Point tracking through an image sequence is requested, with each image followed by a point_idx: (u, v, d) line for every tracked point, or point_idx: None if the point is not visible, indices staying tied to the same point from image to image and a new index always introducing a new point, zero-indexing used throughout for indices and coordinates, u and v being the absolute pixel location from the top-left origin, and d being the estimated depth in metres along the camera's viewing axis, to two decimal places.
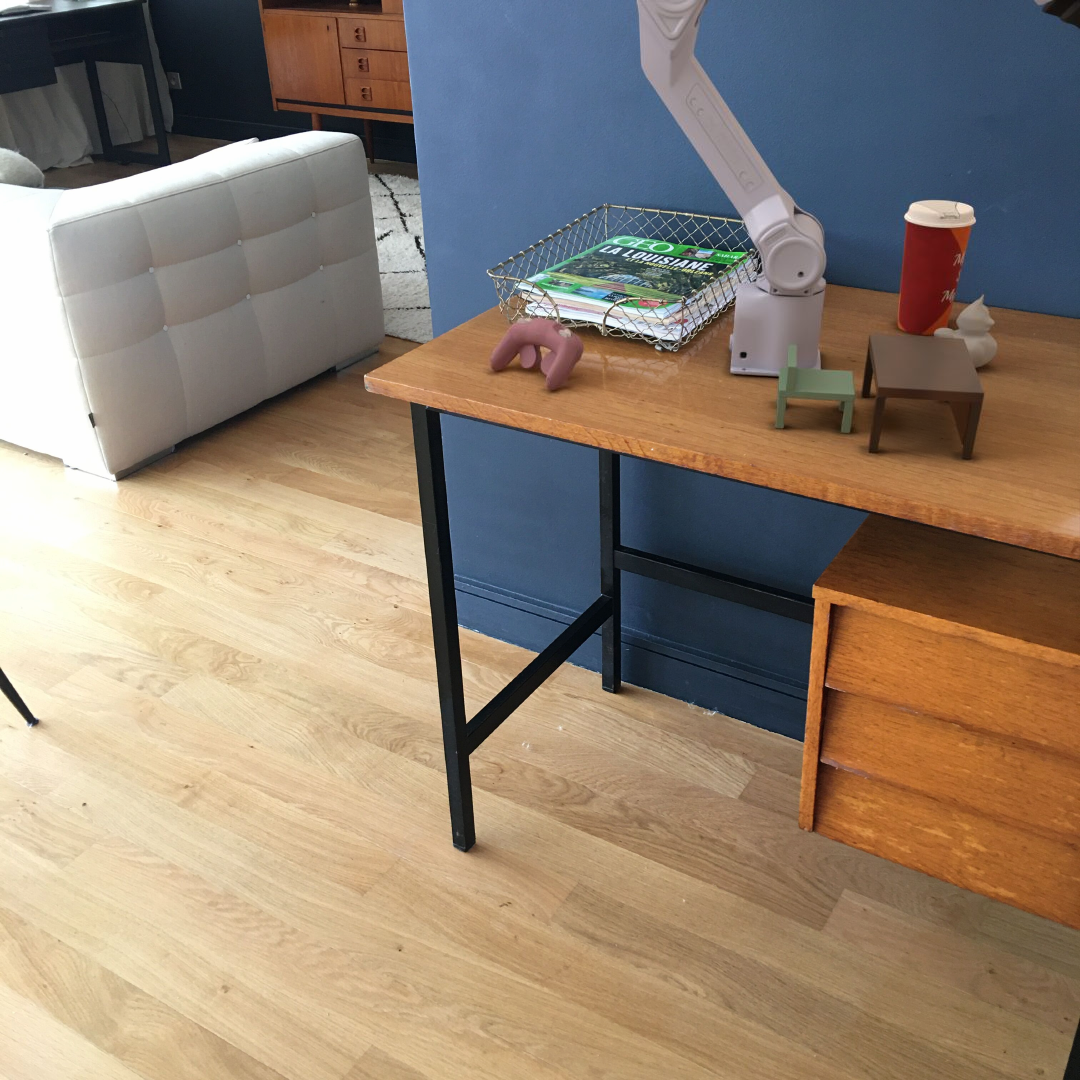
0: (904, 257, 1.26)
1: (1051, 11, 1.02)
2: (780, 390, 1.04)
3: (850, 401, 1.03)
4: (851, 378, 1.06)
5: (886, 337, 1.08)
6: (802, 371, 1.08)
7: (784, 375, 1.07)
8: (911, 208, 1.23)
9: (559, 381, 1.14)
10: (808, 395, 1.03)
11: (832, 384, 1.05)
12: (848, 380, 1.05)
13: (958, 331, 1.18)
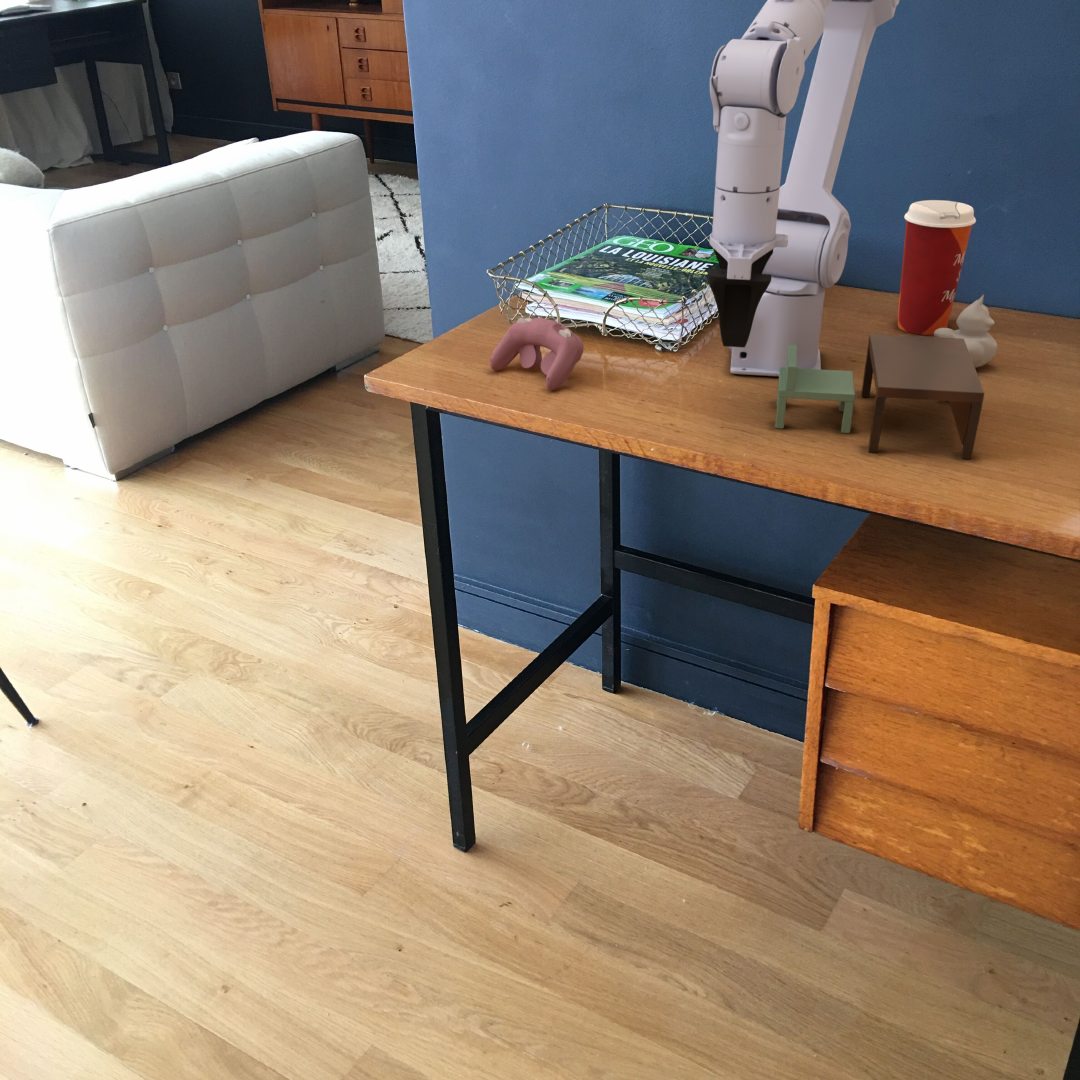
0: (904, 257, 1.26)
1: (717, 253, 1.05)
2: (780, 390, 1.04)
3: (850, 401, 1.03)
4: (851, 378, 1.06)
5: (886, 337, 1.08)
6: (802, 371, 1.08)
7: (784, 375, 1.07)
8: (911, 208, 1.23)
9: (559, 381, 1.14)
10: (808, 395, 1.03)
11: (832, 384, 1.05)
12: (848, 380, 1.05)
13: (958, 331, 1.18)
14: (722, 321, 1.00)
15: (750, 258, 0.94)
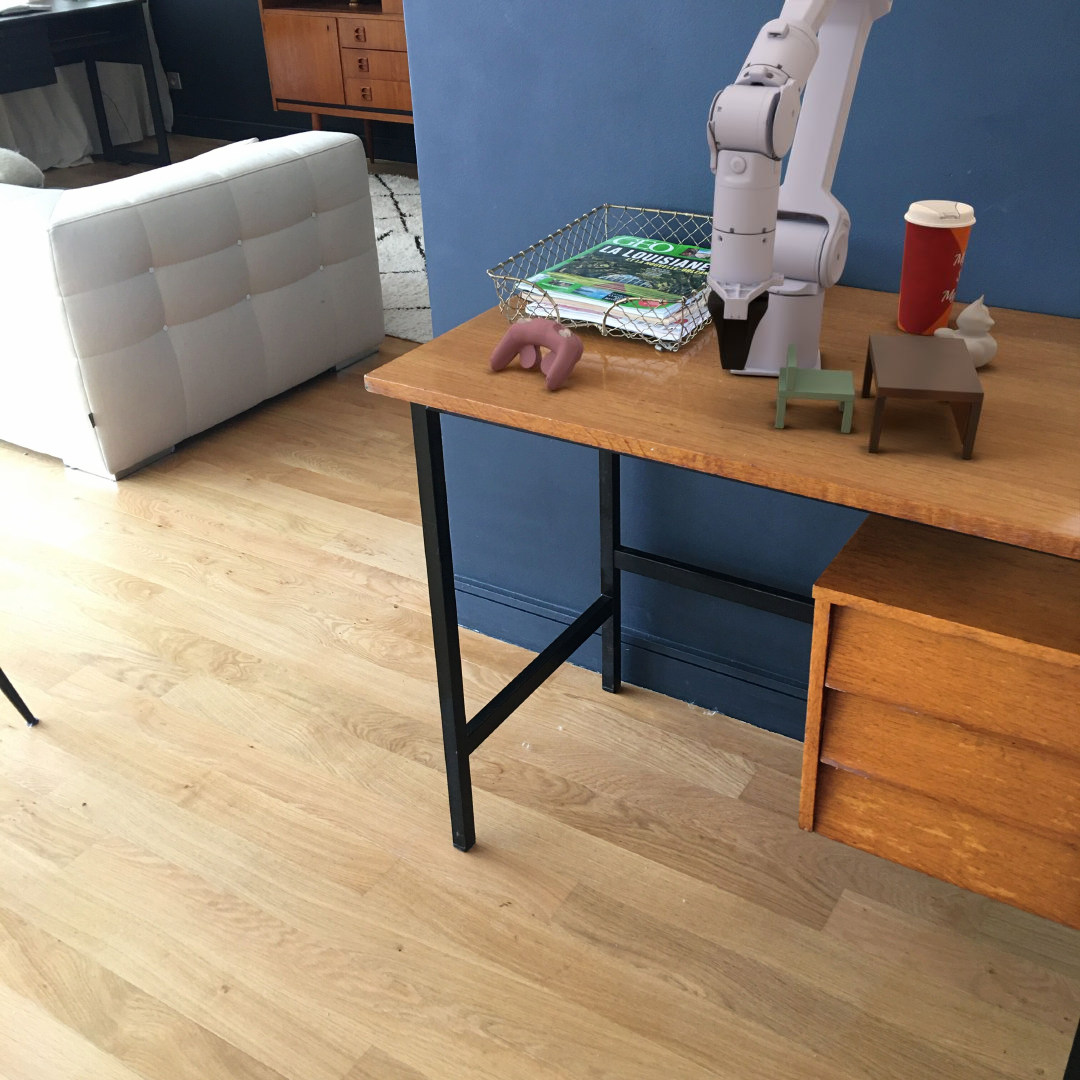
0: (904, 257, 1.26)
1: None
2: (780, 390, 1.04)
3: (850, 401, 1.03)
4: (851, 378, 1.06)
5: (886, 337, 1.08)
6: (802, 371, 1.08)
7: (784, 375, 1.07)
8: (911, 208, 1.23)
9: (559, 381, 1.14)
10: (808, 395, 1.03)
11: (832, 384, 1.05)
12: (848, 380, 1.05)
13: (958, 331, 1.18)
14: (722, 346, 1.05)
15: (746, 299, 0.96)
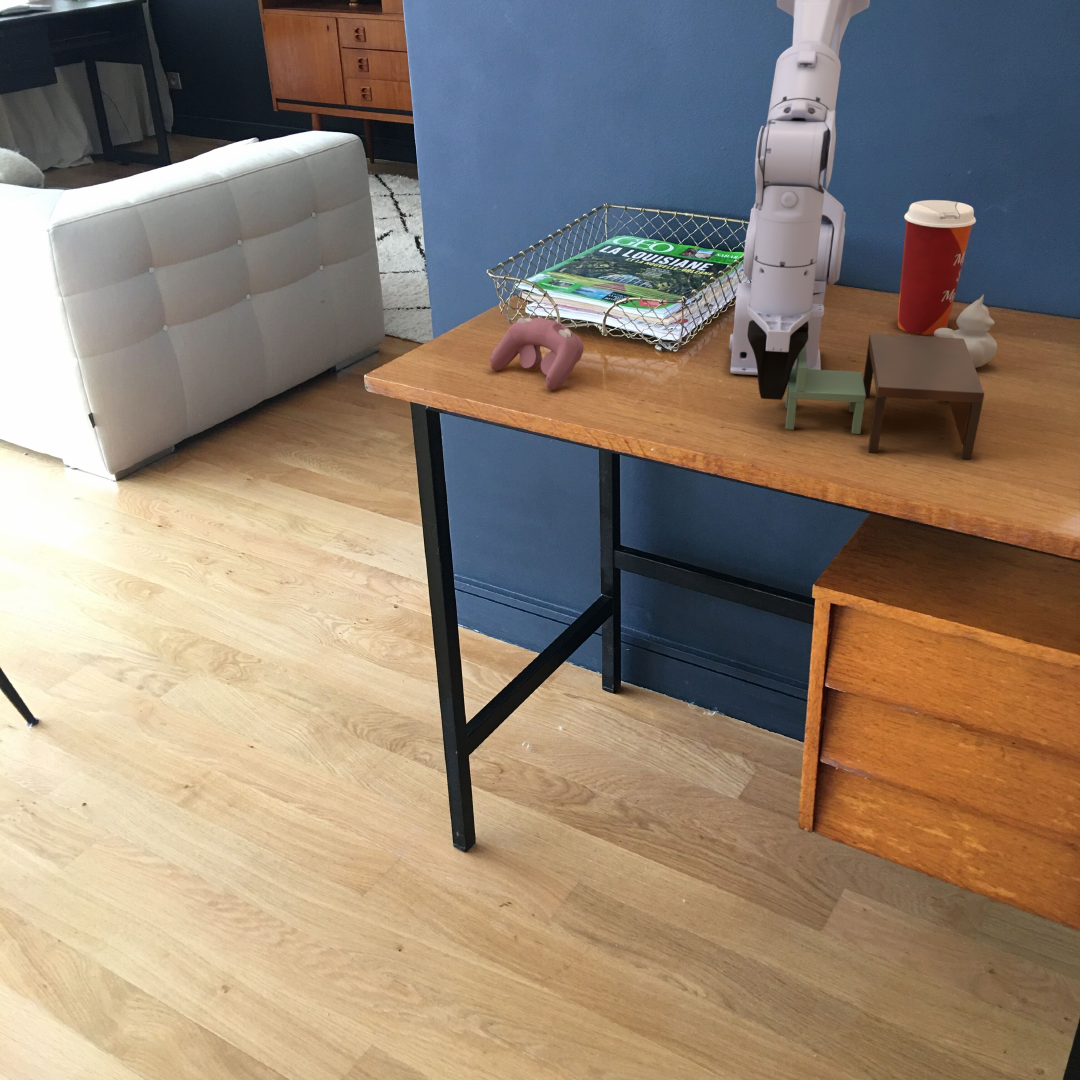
0: (904, 257, 1.26)
1: None
2: (790, 391, 1.04)
3: (860, 402, 1.03)
4: (861, 379, 1.06)
5: (886, 337, 1.08)
6: (812, 371, 1.08)
7: (794, 376, 1.07)
8: (911, 208, 1.23)
9: (559, 381, 1.14)
10: (819, 396, 1.03)
11: (842, 385, 1.04)
12: (858, 381, 1.05)
13: (958, 331, 1.18)
14: (761, 376, 1.05)
15: (789, 331, 0.97)
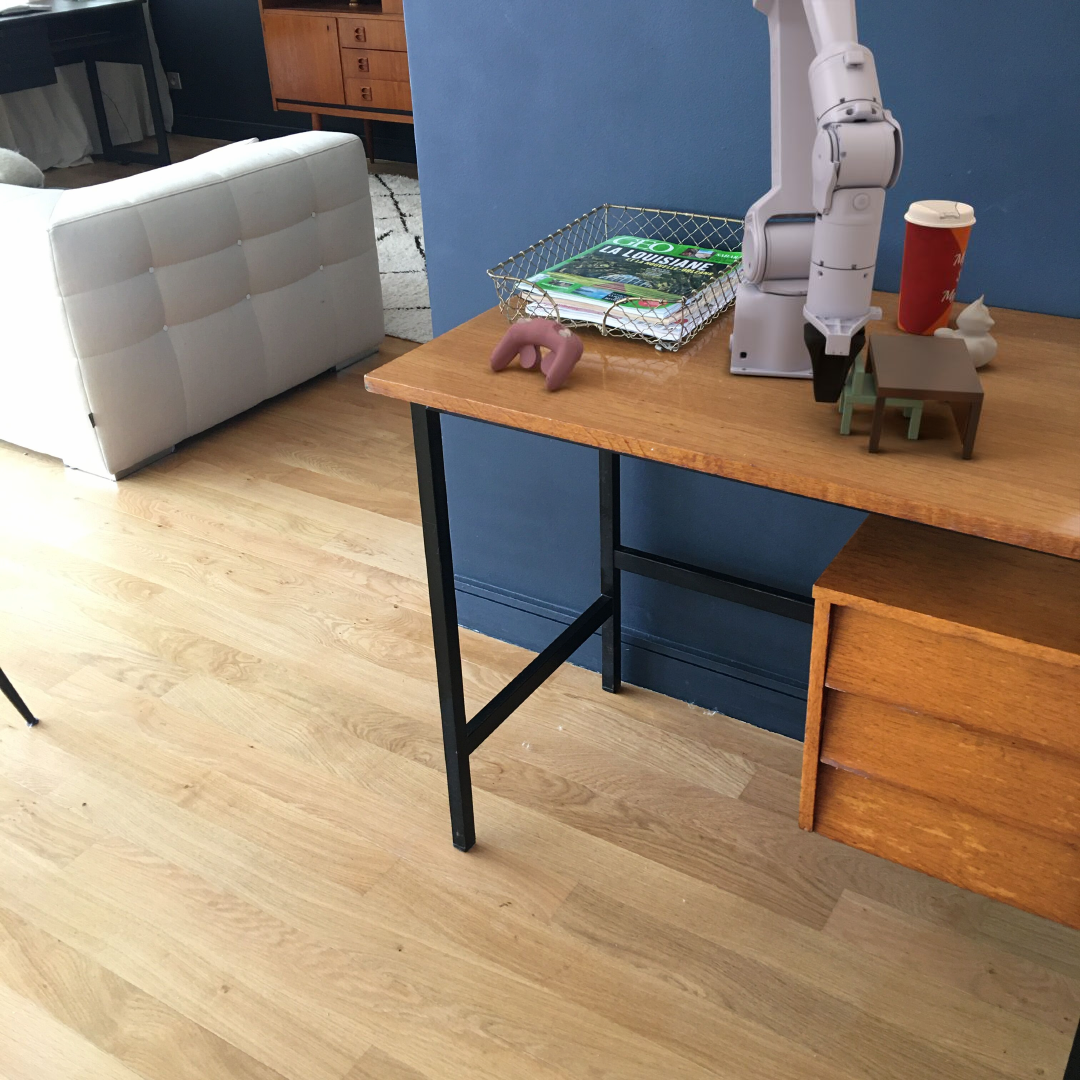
0: (904, 257, 1.26)
1: None
2: (847, 395, 1.02)
3: (918, 407, 1.02)
4: None
5: (886, 337, 1.08)
6: (867, 376, 1.06)
7: (849, 380, 1.05)
8: (911, 208, 1.23)
9: (559, 381, 1.14)
10: None
11: None
12: None
13: (958, 331, 1.18)
14: (816, 379, 1.05)
15: (849, 335, 0.96)
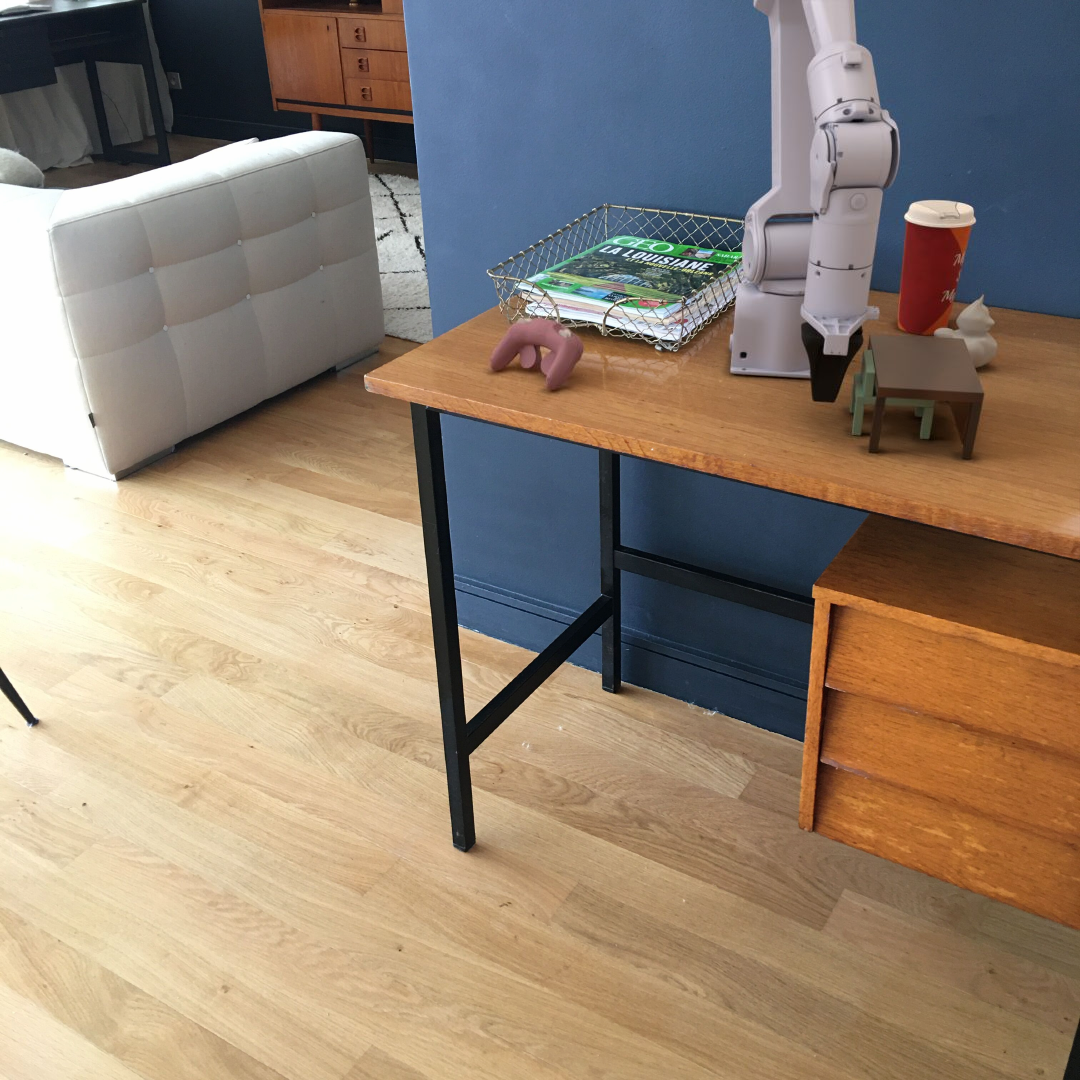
0: (904, 257, 1.26)
1: None
2: (858, 396, 1.02)
3: (930, 407, 1.01)
4: None
5: (886, 337, 1.08)
6: None
7: (860, 381, 1.05)
8: (911, 208, 1.23)
9: (559, 381, 1.14)
10: (887, 401, 1.02)
11: None
12: None
13: (958, 331, 1.18)
14: (814, 378, 1.05)
15: (848, 335, 0.96)
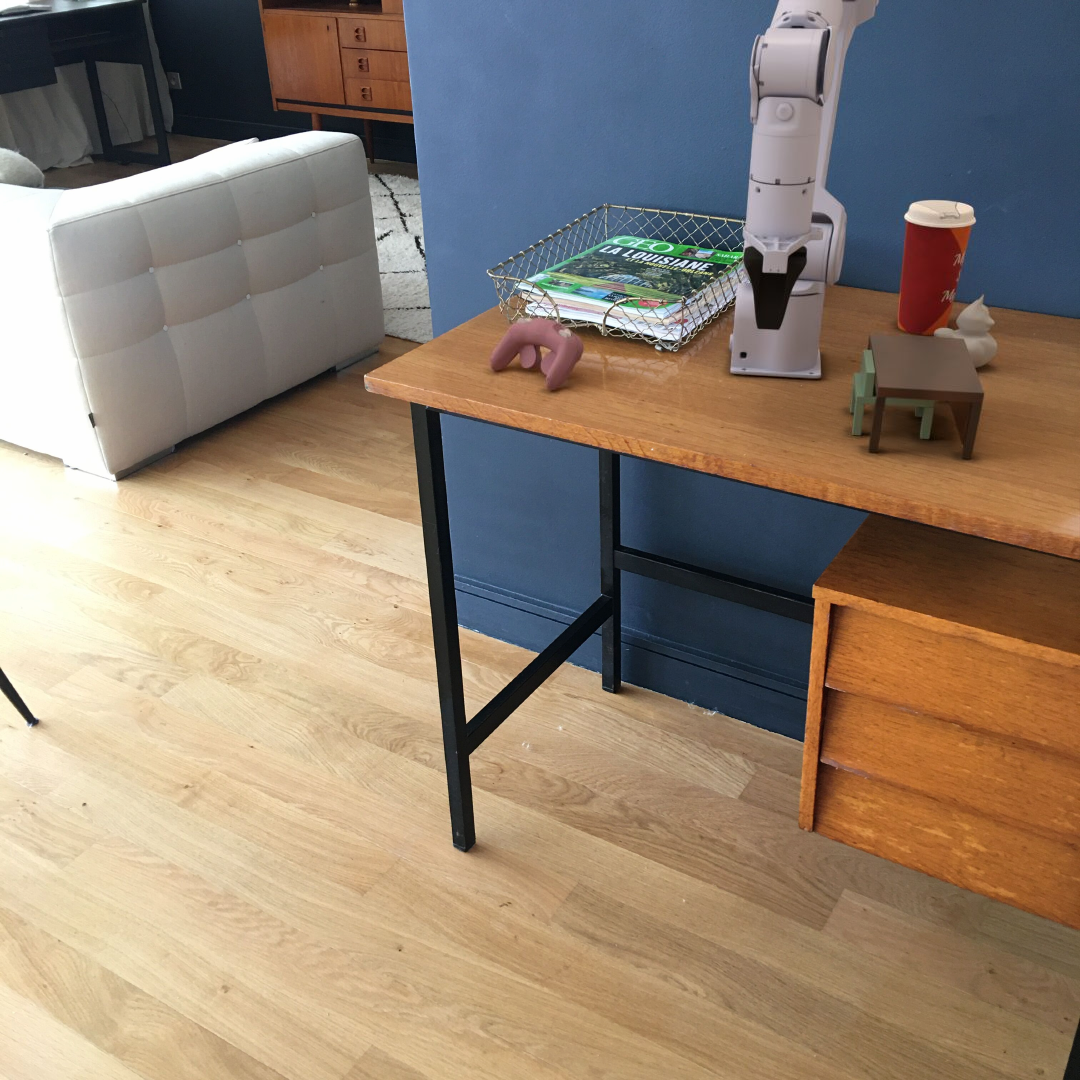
0: (904, 257, 1.26)
1: None
2: (858, 396, 1.02)
3: (930, 407, 1.01)
4: None
5: (886, 337, 1.08)
6: None
7: (860, 381, 1.05)
8: (911, 208, 1.23)
9: (559, 381, 1.14)
10: (887, 401, 1.02)
11: None
12: None
13: (958, 331, 1.18)
14: (757, 304, 1.01)
15: (786, 251, 0.92)
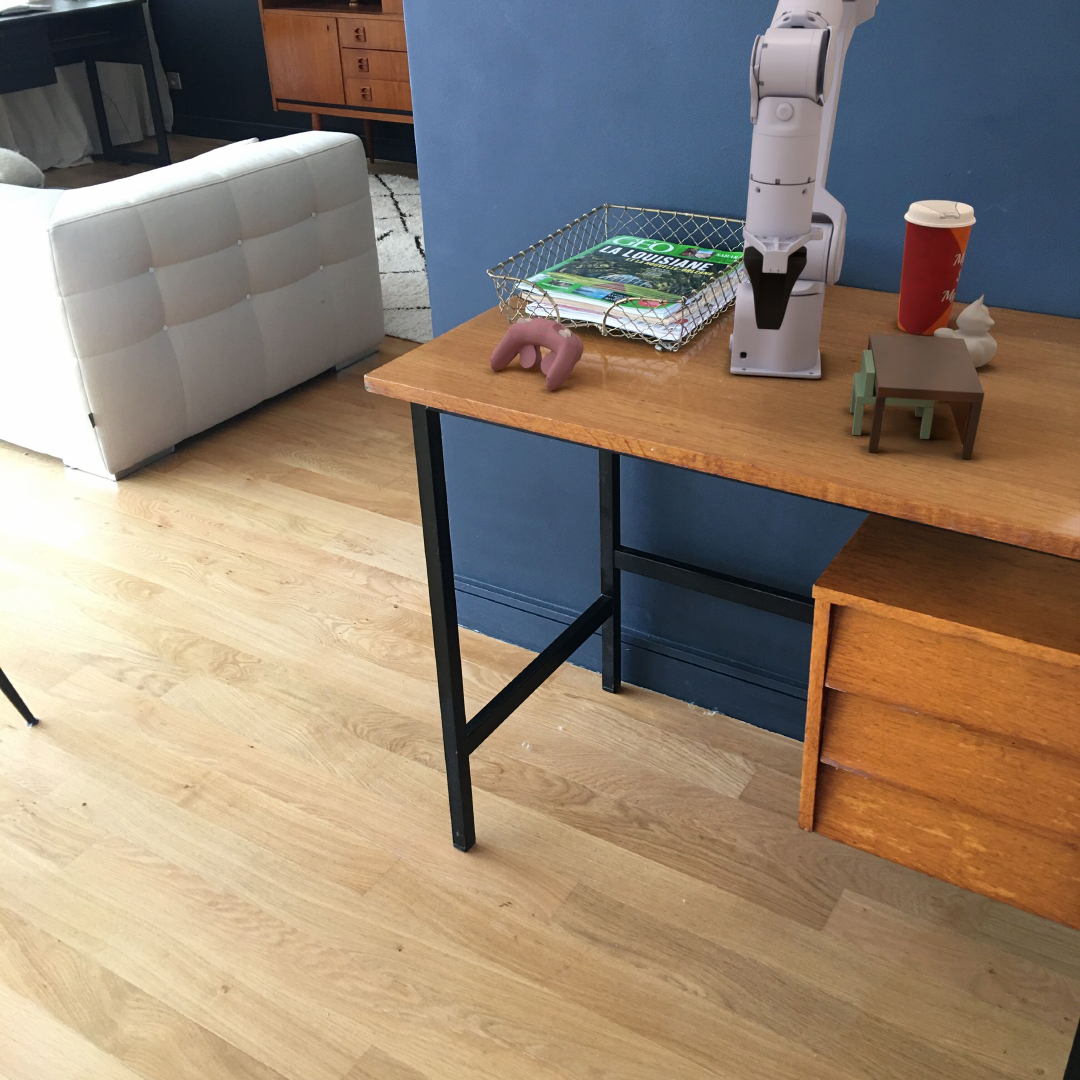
0: (904, 257, 1.26)
1: None
2: (858, 396, 1.02)
3: (930, 407, 1.01)
4: None
5: (886, 337, 1.08)
6: None
7: (860, 381, 1.05)
8: (911, 208, 1.23)
9: (559, 381, 1.14)
10: (887, 401, 1.02)
11: None
12: None
13: (958, 331, 1.18)
14: (757, 304, 1.01)
15: (786, 251, 0.92)
